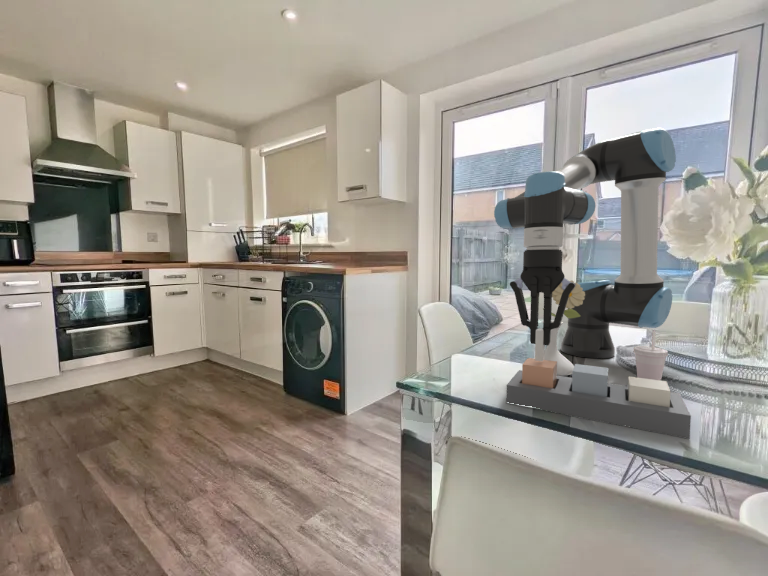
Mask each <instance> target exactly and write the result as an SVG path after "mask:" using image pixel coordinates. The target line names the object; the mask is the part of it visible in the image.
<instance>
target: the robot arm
mask: <svg viewBox="0 0 768 576" xmlns="http://www.w3.org/2000/svg"><path fill="white" fill-rule="evenodd" d="M676 155H677V154H676V150H675V145H674V142H673V139H672V137H671V135H670V133H669V132H668V130H666V129H664V128H662V127H657V128H652V129H651V128H650V129H642V130H641V131H636V132H633V133H630V134H626V135H622V136H618V137H614V138H611V139H610V138H609V139H606V140H602V141H600V142H597V143H595V144H593V145H591V146H589V147H587V148H585V149H584V150H581V151H579V152H578V153H577V154H575V155H573V156H572V157H571V158H569V159H567V160H566V161H565V162H564V164H563V166H562V167H561V168H560V169H557V170H556V171H554V170H553V171H551V170H550V171H542V172H536V173H533V174H531V175H529V176H528V177H527V178H526V181H525V189H524V192H522V193H520V194H519V195H516V196H515V197H511V198H509V197H508V198H506V199H502V200H499V201H498V202H497V203H496V205H495V207H494V211H493V215H494V216H493V217H494V220H495V224H496V225H497V226H498V227H499V228H501V229H512V230H513V229H519V228H521V229H522V228H524V229H523V247H524V249H526V250H524V251H523V261H522V272H521V273H520V277H519V278H517V279H515V280H514V281H510V282H509V286H510V288H511V289H512V291H513V292H514V296H515V301H516V307H517V310H518V314H519V318H520V322H521V325H523V326H525V327H527V328H529V330H530V332H529V333H530V334H529V335H530V336H529V340H530V344H533V345H534V347H535V348H534V349H535V350H534V358H535V360H536V361H543V360H544V356H545V350H546V347H545V346H547V345H549V344H550V336H551V329H554V328H558V327H559V326H560V324H561V322H563V321H562V320H563V318H564V311H565V310H566V309H570V308H566V305H567V301H568V298H569V295H570V293H571V291H572V290H573V289H574V288H575V286H576V284H575V283H576V282H575V281H574V282H570V281H571V280H568V279H567V278H565V274H564V272H563V251H562V250H561V249H560V248H562V247H563V246H564V245H563V243H564V242H563V241H564V224H565V225H566V224H568V225H580V224H583V223H585V222H587V221H589V220H590V219H591V218H592V217H593V215H594V213H595V210H596V202H595V201H596V200H595V198H594V197H593V195H591V194H590V193H589V192H586V191H584V190H582V189H584V188H587V187H588V186H589V185H593V184H598V183H604V182H612V181H614V186H615V187H616V188H617V189H618V190H620V274H619V276H617V277H616V278H615V279H614V281H613V282H614V284H612V282H611V280H609V279H606V280H593V281H583V282H577V283H578V284H579V285H580V287H581V288H582V289H583V290H582V291H584V292H585V296H584V298H585V299H584V300H582V301H583V304H582V305H579V306H575V307H574V308H572V309H573V310H575V311H576V312H577V313H579V315H580V317H576V318H567V329H566V330H565V333H564V336H563V338H562V341H561V344H560V350H561V351H560V352H562V353H564V354H567V355H571V356H574V357H575V356H576V357H581V358H588V359H610V358H613V357H615V353H616V352H615V351H616V348H615V345H614V342H613V339H612V336H611V333H610V324H615V325H624V326H631V327H638V328H639V329H640V328H647V329H648V328H649V329H656V328H659V327H661V326H663V324H665V322H666V320H667V319H668V317H669V314H670V311H671V308H672V304H673V292H672V289H671V288H669V287H668V286H665V285H664V281H665V280H664V279H663V278H662V277H660V275H659V274H658V239H659V237H658V236H659V235H658V232H659V231H658V229H659V189H660V188H659V187H660V185H661V184H662V183H664V182H665V181H666V179H667V173H670V172H672V171H673V170H674V168H675V166H676V164H675V163H677V162H676V161H677V160H676V158H677V156H676ZM561 282H562V289H563V290H564V291H563V293H562V296H561V299H560V302H559V305H558V306H557V309H556V312H555V315H556V316H555V317H554V318H553V321H554V322H551V320H552V315H551V313H552V309H553V308H552V306H553V305H552V302H553V297H552V292H553V291H554V290H555V289H556V288H557V287H558V286H559V285H560V283H561ZM523 284H524V285H525V286H526V288H527V289H528V291H530V315H529V314H528V309H527V305H526V299H525V296H524V293H523V292H524V291H523V289H522V288H523V287H524V285H523ZM540 293H542V294H543V308H544V310H543V318H542V319H543V320H542V321H543V322H542V325H543V327H542V328H539V327H538V326H539V306H540V305H539V304H540V303H539V302H540ZM560 327H561V326H560Z"/></svg>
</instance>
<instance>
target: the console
mask: <svg viewBox="0 0 768 576" xmlns="http://www.w3.org/2000/svg"><path fill="white" fill-rule="evenodd" d="M505 395H506V396H505V397H506V402H509V403H514V404H519V405H525V406H532V407H536V408H540V409H542V410H541V411H543V410H547V411H546V412H548V411H552V412H551V413H553V412H556V413H555V414H559V413H562V414H561V415H564V414H566V415H565V416H569V415H570V416H569V417H574V416H575V418H579V417H580V419H585V420H589V421H590V420H591V421H596V422H600V421H601V423H605V422H606V424H610V423H611V425H616V424H618V425H617V426H621V425H626V426H630V427H629V428H631V427H634V428H633V429H636V428H638V429H637V430H641V429H642V430H641V431H648V432H653V433H659V434H662V435H667V436H673V437H679V438H684V439H689V440H690V437H691V422H692V421H691V420H692V415H691V413H690V411H689V409H688V407H687V405H686V403H685V401H684V399H683V397H682V395H681V393H680V392H679V393H678V392H673V391H670V407H664V406H658V405H652V404H646V403H639V402H633V401H627V400H628V385H624V384H617V383H611V382H608V386H607V397H602V396H596V395H590V394H584V393H578V392H572V377H570V376H569V377H568V376H557V383H556V386H555V388H554V389H553V388H547V387H541V386H534V385H528V384H522V370H521V369H520V370H517V372H516V373H515V374H514V375H513V377H512V378H511V379H510V380H509V381H508V382H507V384H506V394H505ZM626 426H625V427H626Z"/></svg>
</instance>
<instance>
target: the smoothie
mask: <svg viewBox="0 0 768 576" xmlns="http://www.w3.org/2000/svg"><path fill="white" fill-rule="evenodd" d="M651 333H652V334H651V335H652V336H651V338H652V339H651V346H647V345H645V346H644V345H638V346H634V347H633V351H632V352H633V353H634V354H635V355H634V356H635V366H636V375H637V378H645V379H652V380H660V381H662V377H663V374H664V372H663V371H664V369H665V364H666V359H667V357H668V356H669V354H668V353H669V351H668V350H666V349H665V348H660V347H657V346H656V330H655V329H652V331H651Z"/></svg>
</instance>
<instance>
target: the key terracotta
mask: <svg viewBox="0 0 768 576" xmlns="http://www.w3.org/2000/svg"><path fill="white" fill-rule="evenodd" d="M533 358H534V357H531V358H530V357H527V358H526V359H525V361H523V363H522V384H528V385H534V386H541V387H547V388H553V389H554V388H555V386H556V383H557V361H549V360H543V361H536V360H535V359H533Z"/></svg>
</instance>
